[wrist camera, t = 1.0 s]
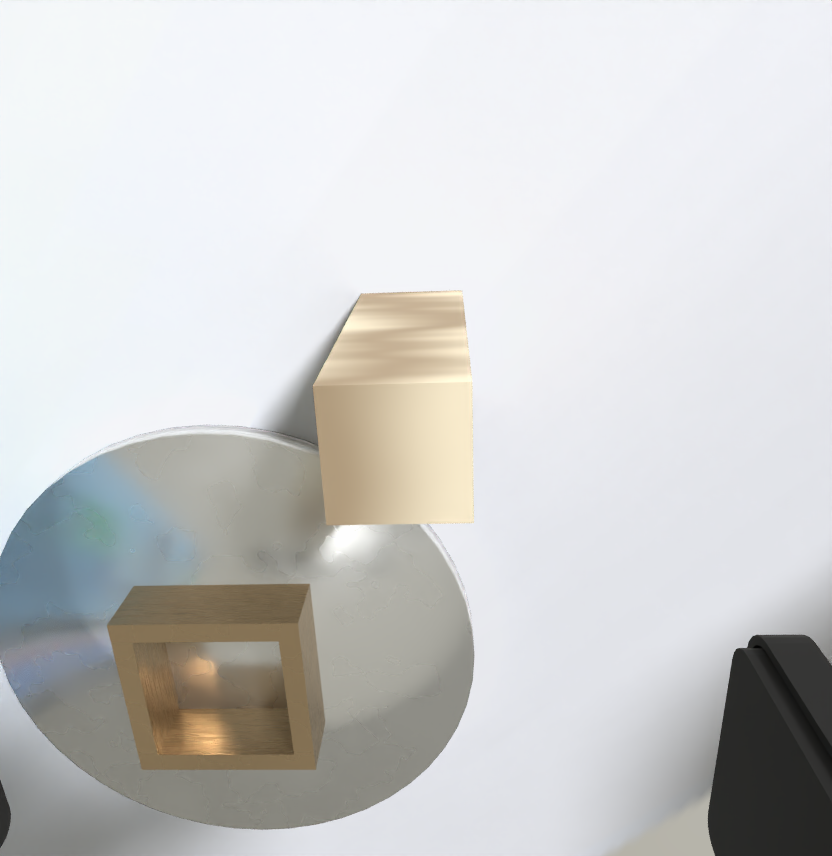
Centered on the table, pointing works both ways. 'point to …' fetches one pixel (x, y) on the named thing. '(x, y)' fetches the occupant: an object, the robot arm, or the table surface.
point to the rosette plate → (231, 632)
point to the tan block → (398, 413)
